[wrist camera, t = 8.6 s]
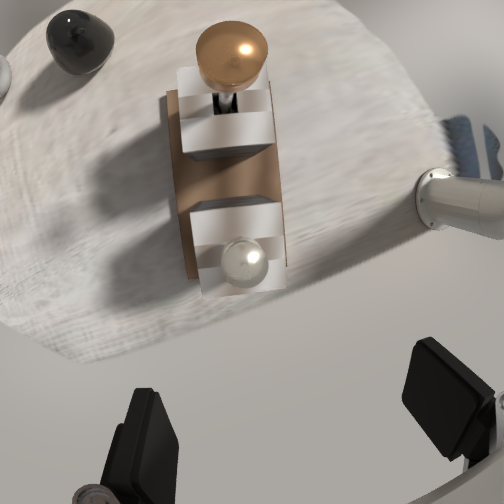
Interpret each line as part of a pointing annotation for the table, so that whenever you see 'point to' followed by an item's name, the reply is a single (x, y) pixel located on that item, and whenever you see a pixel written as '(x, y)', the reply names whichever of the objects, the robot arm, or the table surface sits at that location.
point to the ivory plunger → (244, 262)
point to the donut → (4, 75)
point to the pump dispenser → (79, 41)
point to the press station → (226, 179)
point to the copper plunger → (230, 61)
